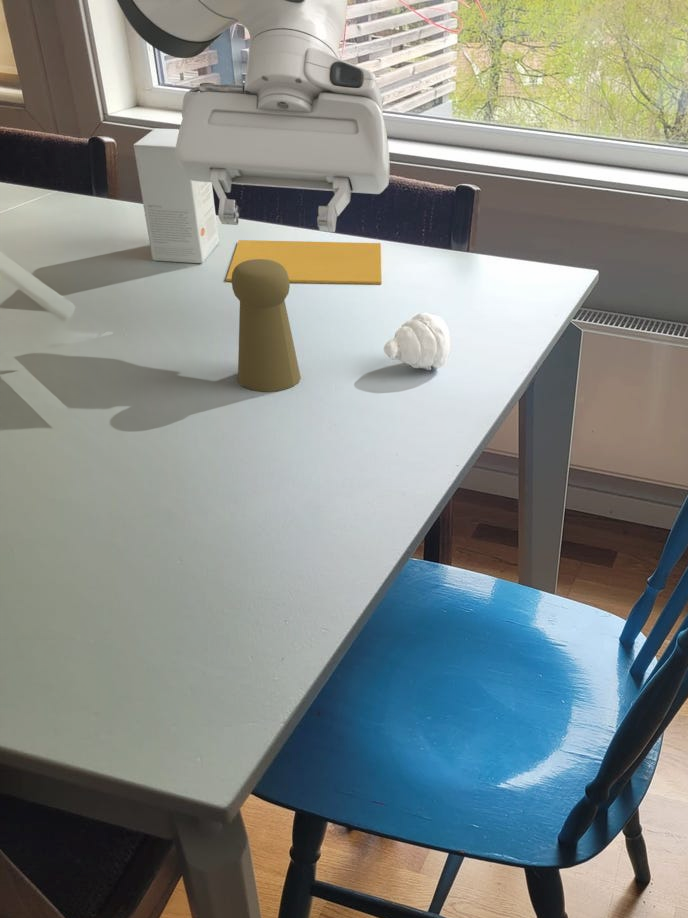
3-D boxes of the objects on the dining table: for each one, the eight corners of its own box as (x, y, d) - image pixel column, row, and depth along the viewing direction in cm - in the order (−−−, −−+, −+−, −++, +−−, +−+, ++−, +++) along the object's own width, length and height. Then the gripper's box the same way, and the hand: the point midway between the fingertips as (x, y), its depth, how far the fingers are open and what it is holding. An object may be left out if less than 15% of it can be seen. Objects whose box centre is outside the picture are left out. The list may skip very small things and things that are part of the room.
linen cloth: (226, 281, 116) (226, 278, 116) (238, 242, 127) (238, 239, 126) (381, 284, 117) (381, 281, 117) (380, 245, 128) (380, 243, 128)
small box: (170, 239, 126) (154, 126, 118) (220, 243, 126) (207, 130, 118) (150, 260, 120) (131, 143, 112) (202, 264, 120) (187, 147, 111)
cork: (226, 374, 97) (212, 259, 90) (280, 359, 100) (270, 248, 93) (258, 397, 93) (246, 279, 86) (312, 381, 96) (305, 266, 89)
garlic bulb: (373, 366, 100) (372, 312, 96) (424, 354, 102) (425, 302, 99) (400, 387, 96) (400, 332, 93) (452, 374, 99) (454, 321, 96)
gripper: (175, 60, 93) (157, 199, 92) (391, 74, 93) (377, 215, 91) (195, 103, 99) (179, 234, 98) (398, 117, 99) (385, 249, 97)
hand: (276, 225), depth 95 cm, fingers open, 8 cm apart
